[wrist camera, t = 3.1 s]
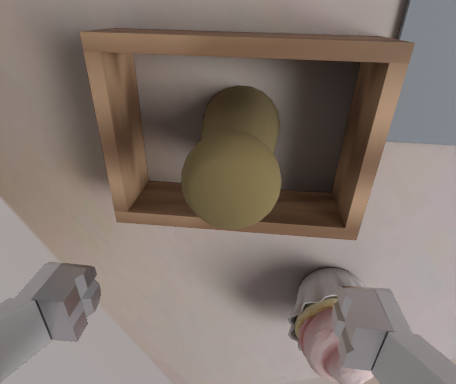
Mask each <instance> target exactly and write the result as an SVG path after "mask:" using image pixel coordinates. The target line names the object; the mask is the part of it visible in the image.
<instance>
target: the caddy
mask: <svg viewBox="0 0 456 384" xmlns="http://www.w3.org/2000/svg"><path fill="white" fill-rule="evenodd" d="M80 36H81V41H82V46H83V52H84V57H85V62H86V67H87V72H88V77H89V82H90V87H91V93H92V98H93V103H94V108H95V113H96V118H97V123H98V128H99V134H100V139H101V144H102V149H103V154H104V159H105V164H106V169H107V175H108V180H109V185H110V190H111V195H112V200H113V205H114V210H115V216H116V221H117V222H123V223H136V224H149V225H162V226H175V227H188V228H202V229H215V230H228V231H241V232H254V233H267V234H280V235H294V236H307V237H320V238H333V239H346V240H356V239H357V236H358V233H359V229H360V226H361V223H362V219H363V216H364V213H365V209H366V206H367V202H368V199H369V196H370V192H371V189H372V186H373V182H374V179H375V176H376V172H377V169H378V166H379V162H380V159H381V156H382V152H383V149H384V146H385V142H386V139H387V135H388V132H389V129H390V125H391V122H392V119H393V115H394V112H395V109H396V105H397V102H398V99H399V95H400V92H401V89H402V85H403V82H404V79H405V75H406V72H407V68H408V65H409V62H410V58H411V55H412V52H413V48H414V45H415V43H414V42H408V41H403V40H398V39H392V38H387V37H378V36H347V35H315V34H284V33H252V32H220V31H189V30H157V29H126V28H113V29H103V30H93V31H83V32H80ZM133 53H138V54H165V55H192V56H219V57H245V58H272V59H299V60H326V61H353V62H361V63H360V68H359V72H358V77H357V81H356V86H355V90H354V95H353V99H352V103H351V108H350V112H349V117H348V121H347V126H346V130H345V135H344V139H343V144H342V148H341V152H340V157H339V161H338V166H337V170H336V175H335V179H334V184H333V188H332V193H323V192H307V191H292V190H280V194H279V197H278V200H277V202H276V203H275V205H274V207H273V209H272V210H271V212H270V213H269V214H267V215H266V216H265V217H264V218H263V219H262V220H261V221H259V222H257V223H255V224H252V225H250V226H248V227H246V228H239V229H224V228H218V227H216V226H213V225H210V224H208V223H206V222H205V221H203V220H202V219H201V218H199V217H198V216H197V215H196V214H195V213H194V212H193V210H192V209H191V208H190V207H189V205H188V204H187V203H186V200H185V197H184V195H183V192H182V183H171V182H156V181H149V180H148V172H147V164H146V155H145V147H144V139H143V131H142V122H141V114H140V106H139V98H138V89H137V81H136V73H135V64H134V56H133Z"/></svg>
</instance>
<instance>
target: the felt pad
mask: <svg viewBox="0 0 456 384" xmlns="http://www.w3.org/2000/svg"><path fill="white" fill-rule="evenodd" d="M398 40H403V41H408V42H414V43H415V45H414V48H413V52H412V55H411V58H410V62H409V65H408V68H407V72H406V75H405V79H404V82H403V85H402V89H401V92H400V95H399V99H398V102H397V105H396V109H395V112H394V115H393V119H392V122H391V125H390V129H389V132H388V135H387V139H386V141H387V142H406V143H424V144H443V145H456V0H408V2H407V6H406V9H405V13H404V17H403V20H402V24H401V28H400V31H399V35H398Z"/></svg>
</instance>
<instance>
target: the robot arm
mask: <svg viewBox="0 0 456 384" xmlns="http://www.w3.org/2000/svg"><path fill="white" fill-rule="evenodd" d="M96 275H97V273H96V270H95V267H93V266H88V265H78V264H69V263H56V262H48V263H46V264H45V265H44V266H43V267H42V268H41V269H40V270H39V271H38V272H37V274H36V275H35V276H34V277H33V278H32V279H31V281H29V283H28V284H27V285H26V286H25V287H24V288H23V289H22V290H21V292H20V293H19V294H18V295H17V296H16V297H15V298H9V299H7V300H5V301H4V302H2V303H0V383H1V382H2V381H3V380H5V379H6V378H7V377H8V376H9V375H11V374H12V373H13V372H14V371H16V370H17V369H18V368H19V367H21V366H22V365H23V364H24V363H26V362H27V361H28V360H29V359H31V358H32V357H33V356H34V355H36V354H37V353H38V352H39V351H40V350H42V349H43V348H44V347H45V346H47V345H48V344H49V343H50V342H51V340H60V341H61V340H62V341H75V342H77V341H78V340H79V338H80V336H81V335H82V333H83V331H84V329H85V327H86V326H87V324H88V323H87V318H86V317H88V316H89V315H91V314H92V313H93V312H95V310H96V308H97V306H98V304H99V300H100V296H101V289H100V285H99V283H98V282H97V281H96V280H94V278H95V277H96ZM337 298H338V301H337V302H336V303H334V305H333V310H332V325H333V330H334V334H335V335H336V336H337V337H338V338H339V339H340V340H339V343H338V351H339V355H340V359H341V363H342V367H343V368H350V369H358V370H366V371H372V372H371V373H372V374H373V375H374V377H375V378H376V379H377V380H378V382H379V383H380V384H456V365H455V364H454V363H453V362H451V361H450V360H449V359H448V358H446V357H445V356H444V355H443V354H442V353H440V352H439V351H438V350H437V349H435V348H434V347H433V346H432V345H431V344H429V343H428V342H427V341H426V340H425V339H423V338H422V337H421V336H420V335H418V334H413V332H412V330H411V328H410V326H409V324H408V322H407V320H406V318H405V316H404V314H403V313H402V311H401V309H400V307H399V305H398V303H397V301H396V299H395V297H394V295H393V293H392V291H391V290H390V289H384V288H369V287H355V286H341V285H340V286H339V288H338V290H337Z"/></svg>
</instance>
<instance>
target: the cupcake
mask: <svg viewBox="0 0 456 384" xmlns="http://www.w3.org/2000/svg"><path fill="white" fill-rule="evenodd" d="M340 285H341V286H355V287H364V285H363V284H362V282H361V281H360V280H359V279H358V278H357V277H356V276H355V275H353V274H352V273H350V272H349V271H346V270H343V269H338V268H325V269H320V270H316V271H314V272H312V273H311V274H309V275H308V276H306V277H305V278H304V279H303V281H302V282H301V284H300V286H299V289H298V294H297V300H296V306H295V308H294V309H293V311H292V313H291V314H290V316H289V318H288V320H289V322H290V324H291V325H292V326H291V328H290V331H289V334H288V335H289V336H290V338H291V339H293V340H295V341H298V349H299V350H300V351H302V352H303V354H304V356H305V357H306V359H307V361H308V363H309V364H310V366H311V368H312V369H313V370H314V371H315V372H316V373H317V374H318V375H320V376H321V377H323V378H325V379H327V380H331V381H335V382H339V383H340V384H363V383H364V382H365V381H367V380H369V379H371V378H372V377H373V376H374V375H373V374H372V373H371V372H372V371H366V370H358V369H350V368H343V367H342V363H341V359H340V355H339V351H338V343H339V340H340V339H339V338H338V337H337V336H336V335H335V334H334V330H333V325H332V310H333V305H334V303H336V302H337V301H338V298H337V290H338V288H339V286H340Z"/></svg>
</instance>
